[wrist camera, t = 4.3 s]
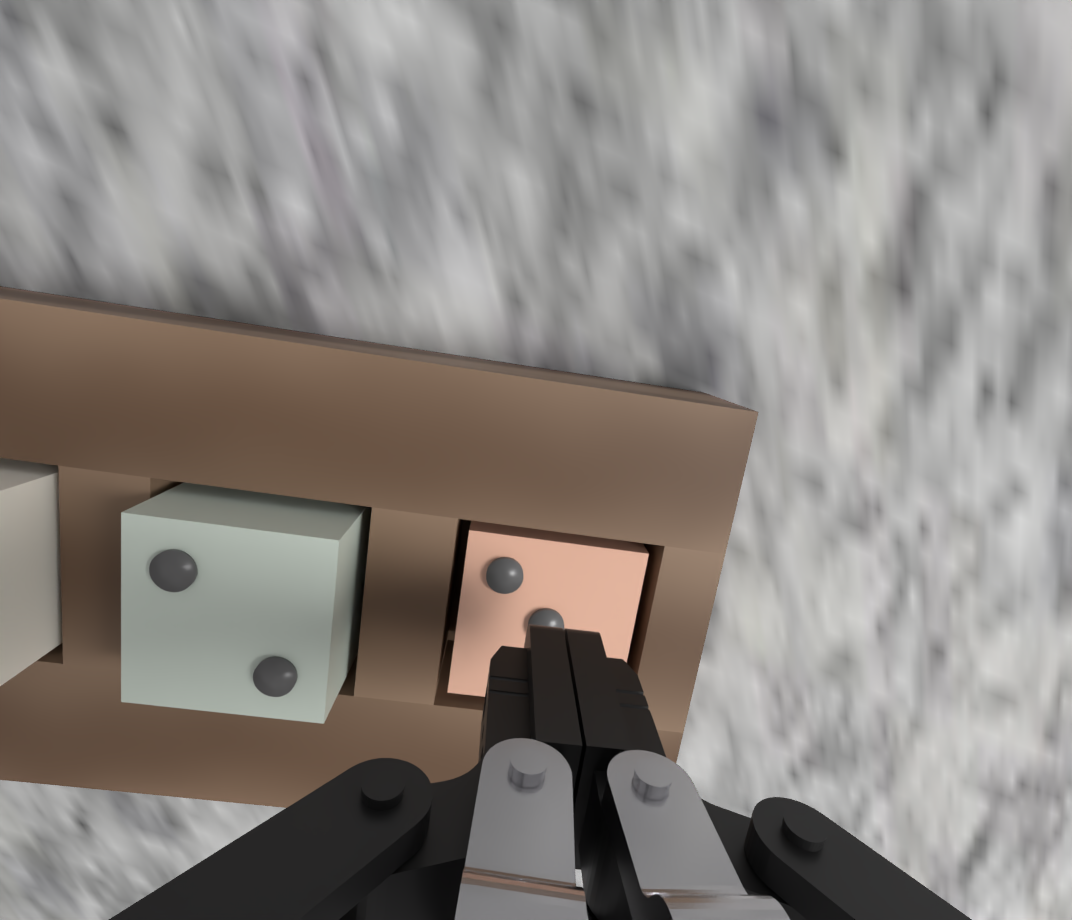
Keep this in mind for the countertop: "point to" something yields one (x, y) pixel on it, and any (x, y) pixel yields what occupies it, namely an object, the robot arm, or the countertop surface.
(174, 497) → the button
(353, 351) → the button panel
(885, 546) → the countertop surface
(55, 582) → the button
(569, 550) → the button
